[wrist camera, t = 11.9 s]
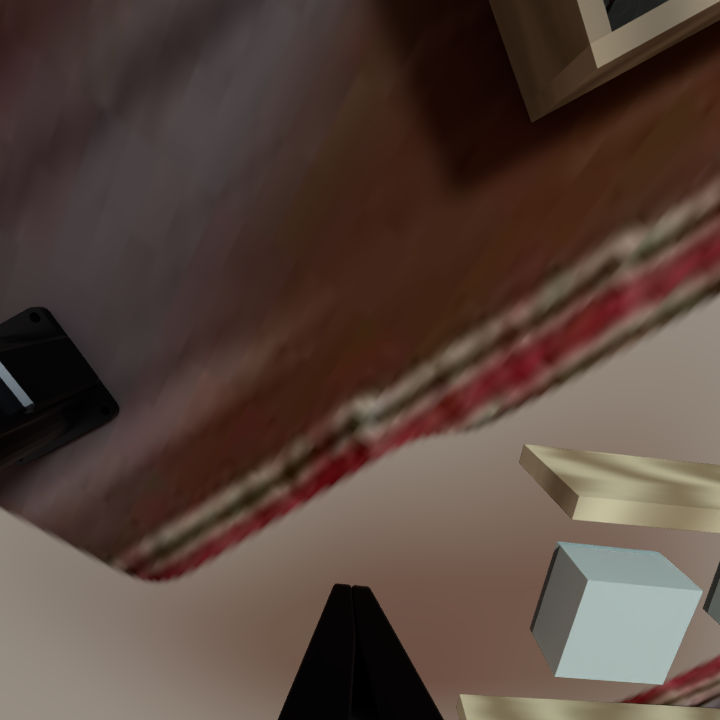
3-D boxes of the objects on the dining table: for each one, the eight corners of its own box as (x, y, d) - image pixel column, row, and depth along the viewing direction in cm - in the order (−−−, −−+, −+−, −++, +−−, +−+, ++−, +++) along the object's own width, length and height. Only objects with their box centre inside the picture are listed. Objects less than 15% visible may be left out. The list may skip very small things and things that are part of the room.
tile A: (529, 628, 24) (554, 676, 21) (556, 541, 23) (588, 580, 20) (625, 636, 25) (662, 684, 22) (658, 551, 23) (703, 591, 20)
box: (456, 706, 25) (482, 809, 20) (524, 444, 21) (579, 496, 16) (764, 723, 27) (857, 822, 22) (890, 483, 22) (1042, 541, 17)
